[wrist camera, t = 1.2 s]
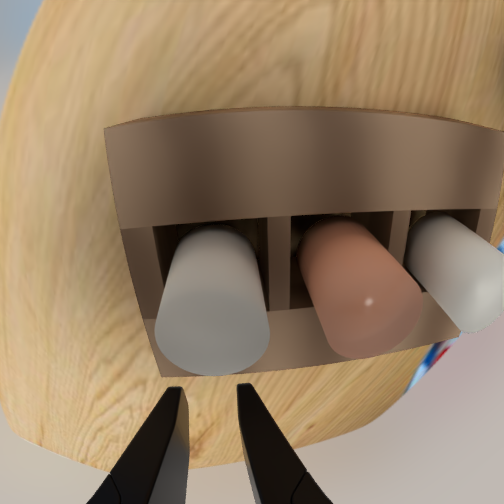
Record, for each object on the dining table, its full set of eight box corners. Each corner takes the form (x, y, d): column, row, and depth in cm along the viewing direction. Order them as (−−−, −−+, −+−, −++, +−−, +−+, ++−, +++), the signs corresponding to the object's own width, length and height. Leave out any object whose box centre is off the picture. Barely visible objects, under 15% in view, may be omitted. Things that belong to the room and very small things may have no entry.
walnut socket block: (452, 118, 17) (507, 132, 12) (424, 294, 24) (458, 336, 19) (137, 119, 16) (103, 128, 12) (171, 320, 23) (161, 377, 18)
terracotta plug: (375, 213, 15) (433, 268, 10) (366, 282, 17) (409, 349, 12) (297, 217, 15) (331, 279, 10) (295, 289, 17) (321, 365, 12)
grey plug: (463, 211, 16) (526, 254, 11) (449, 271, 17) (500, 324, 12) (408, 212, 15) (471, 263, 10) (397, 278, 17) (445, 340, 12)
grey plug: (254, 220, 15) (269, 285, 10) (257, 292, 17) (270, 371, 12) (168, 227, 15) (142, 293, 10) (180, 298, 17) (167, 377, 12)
